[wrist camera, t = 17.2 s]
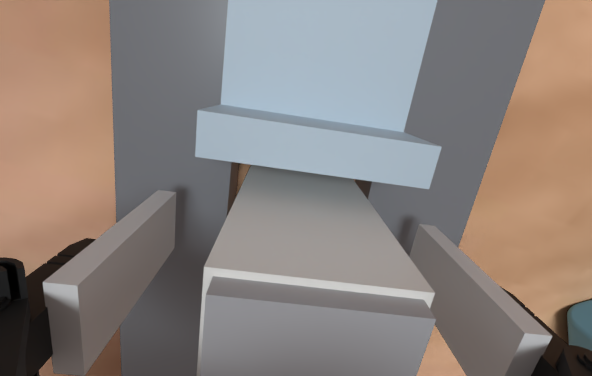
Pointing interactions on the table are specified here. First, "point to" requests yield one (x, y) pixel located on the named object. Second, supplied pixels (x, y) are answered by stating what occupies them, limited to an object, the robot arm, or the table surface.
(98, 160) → the table surface
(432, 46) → the socket block
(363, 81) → the light blue l-shaped block
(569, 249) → the table surface
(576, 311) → the data package
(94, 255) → the robot arm
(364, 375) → the plug
